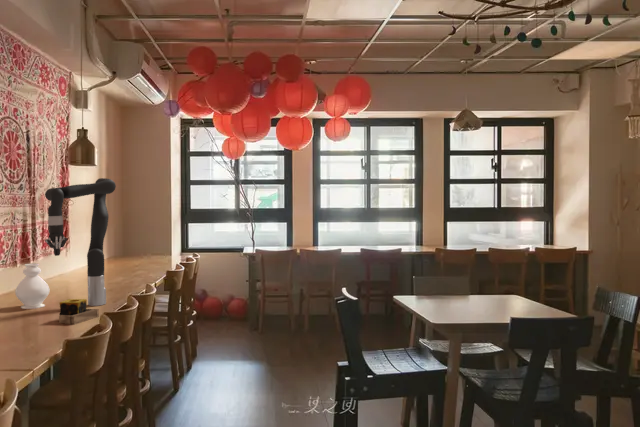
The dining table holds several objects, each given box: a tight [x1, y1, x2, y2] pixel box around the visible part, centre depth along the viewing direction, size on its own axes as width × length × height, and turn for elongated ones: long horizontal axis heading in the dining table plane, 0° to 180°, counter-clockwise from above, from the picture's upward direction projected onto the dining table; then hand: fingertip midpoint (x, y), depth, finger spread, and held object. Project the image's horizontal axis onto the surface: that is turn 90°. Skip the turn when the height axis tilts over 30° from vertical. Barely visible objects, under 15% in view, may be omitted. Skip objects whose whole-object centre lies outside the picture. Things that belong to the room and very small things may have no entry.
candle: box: [58, 298, 88, 316], centre depth 295 cm, size 10×10×10 cm
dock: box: [58, 308, 100, 325], centre depth 294 cm, size 9×19×4 cm, turn 165°
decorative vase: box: [15, 262, 51, 310], centre depth 332 cm, size 18×18×25 cm
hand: (57, 255), depth 314 cm, fingers closed
